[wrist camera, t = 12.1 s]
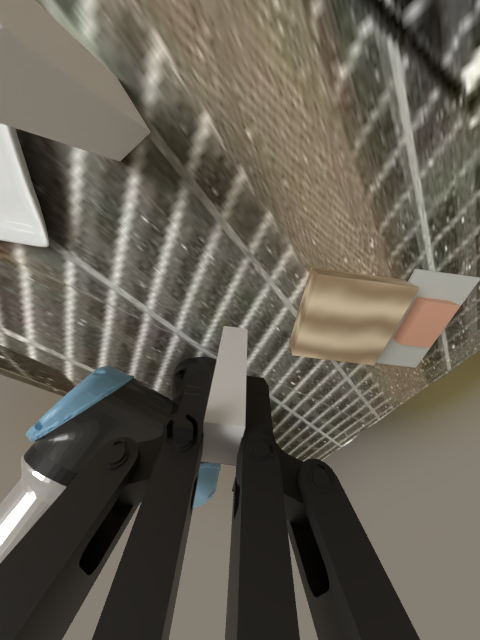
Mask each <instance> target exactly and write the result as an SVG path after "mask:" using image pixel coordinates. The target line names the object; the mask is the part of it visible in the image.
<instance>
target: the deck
mask: <svg viewBox="0 0 480 640" xmlns="http://www.w3.org/2000/svg"><path fill="white" fill-rule="evenodd" d="M418 290H419V287H417V286H415V285H413V284H411V283H409V282H407V281H405V280H403V279H397V278H389V277H382V276H375V275H367V274H360V273H352V272H345V271H337V270H330V269H323V268H315V267H311V270H310V274H309V277H308V280H307V284H306V287H305V291H304V294H303V297H302V301H301V304H300V307H299V311H298V314H297V318H296V321H295V324H294V328H293V331H292V334H291V338H290V341H289V345H290V348H291V352H292V355H294V356H302V357H310V358H318V359H326V360H334V361H343V362H351V363H359V364H367V365H375V363H376V361H377V360H378V358H379V356H380V354H381V353H382V351H383V349H384V348H385V346H386V344H387V343H388V341H389V339H390V337H391V336H392V334H393V332H394V331H395V329H396V327H397V326H398V324H399V322H400V321H401V319H402V317H403V315H404V314H405V312H406V310H407V309H408V307H409V305H410V304H411V302H412V300H413V298H414V297H415V295H416V293H417V292H418Z"/></svg>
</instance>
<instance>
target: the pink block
mask: <svg viewBox="0 0 480 640" xmlns="http://www.w3.org/2000/svg"><path fill="white" fill-rule="evenodd" d="M459 307H460V305H458V304H456V303H454V302H452V301H448V300H441V299H433V298H425V297H417V298H416V300H415V302H414V303H413V305H412V307H411V308H410V310H409V312H408V314H407V315H406V317H405V319H404V320H403V322H402V324H401V325H400V327H399V329H398V330H397V332H396V334H395V335H394V337H393V339H394V340H395V341H396V342H397V343H398V344H401V345H409V346H417V347H425V348H430V347H431V346H432V345H433V343H434V342H435V340H436V339H437V338H438V336H439V335H440V333H441V332H442V331H443V329H444V328H445V327H446V325H447V324H448V322H449V321H450V320H451V318H452V317H453V315H454V314H455V313H456V311H457V310H458V309H459Z"/></svg>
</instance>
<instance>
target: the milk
mask: <svg viewBox="0 0 480 640" xmlns="http://www.w3.org/2000/svg"><path fill="white" fill-rule="evenodd" d="M0 123H1V124H4V125H7V126H10V127H13V128H16V129H20V130H23V131H26V132H29V133H32V134H35V135H38V136H42V137H45V138H48V139H51V140H54V141H57V142H60V143H64V144H67V145H70V146H73V147H76V148H79V149H82V150H86V151H89V152H92V153H95V154H98V155H101V156H104V157H108V158H111V159H114V160H117V161H121V160H122V159H123V158H124V157H125V156H126V155H128V154H129V153H130V152H131V151H132V150H133V149H134V148H135V147H136V146H137V145H138V144H139V143H140V142H141V141H142V140H143V139H144V138H145V137H146V136H147V135H148V134H150V130H149V129H148V127H147V125H146V124H145V122H144V120H143V119H142V117H141V116H140V114H139V112H138V111H137V109H136V108H135V106H134V104H133V103H132V101H131V99H130V98H129V96H128V95H127V93H126V91H125V90H124V88H123V87H122V85H121V83H120V82H119V80H118V79H117V77H116V76H115V75H114V74H113V73H112V72H110V71H109V70H108V69H107V68H106V67H105V66H104V65H103V64H102V63H101V62H100V61H99V60H98V59H97V58H96V57H95V56H93V55H92V54H91V53H90V52H89V51H88V50H87V49H86V48H85V47H84V46H83V45H82V44H81V43H80V42H79V41H78V40H76V39H75V38H74V37H73V36H72V35H71V34H70V33H69V32H68V31H67V30H66V29H65V28H64V27H63V26H62V25H61V24H59V23H58V22H57V21H56V20H55V19H54V18H53V17H52V16H51V15H50V14H49V13H48V12H47V11H46V10H45V9H44V8H42V7H41V6H40V5H39V4H38V3H37V2H36V1H35V0H0Z"/></svg>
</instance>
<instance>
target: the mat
mask: <svg viewBox="0 0 480 640" xmlns="http://www.w3.org/2000/svg"><path fill="white" fill-rule="evenodd" d="M479 280H480V278H479V277H473V276H465V275H458V274H451V273H443V272H436V271H429V270H421V269H415V270H414V272H413V273H412V275H411V277H410V279H409V281H408V282H409V283H411V284H413V285H415V286H417V287H419V290H418V292H417V293H416V295H415V297H414V298H413V300H412V302H411V304H410V305H409V307H408V309H407V310H406V312H405V314H404V315H403V317H402V319H401V321H400V322H399V324H398V326H397V327H396V329H395V331H394V332H393V334H392V336H391V337H390V339H389V341H388V343H387V344H386V346H385V348H384V349H383V351H382V353H381V354H380V356H379V358H378V360H377V361H376V363H382V364H390V365H398V366H406V367H414V368H416V367H417V365H418V364H419V363H420V361H421V360H422V358H423V357H424V356H425V354H426V353H427V352H428V350H429V349H430V348H425V347H417V346H409V345H401V344H398V343H397V342H396V341H395V340H394V339H393V337H394V335H395V334H396V332H397V330H398V329H399V327H400V325H401V324H402V322H403V320H404V319H405V317H406V315H407V314H408V312H409V310H410V308H411V307H412V305H413V303H414V302H415V300H416V298H417V297H425V298H433V299H441V300H448V301H452V302H454V303H456V304H458V305H460V306H461V305H462V303H463V302H464V301H465V299H466V298H467V297H468V295H469V294H470V292H471V291H472V290H473V288H474V287H475V286H476V284H477V283H478V281H479ZM459 308H460V307H459ZM456 312H457V311H456ZM453 316H454V315H453ZM451 319H452V318H451ZM448 323H449V322H448ZM443 330H444V329H443ZM440 334H441V333H440ZM435 341H436V340H435Z"/></svg>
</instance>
